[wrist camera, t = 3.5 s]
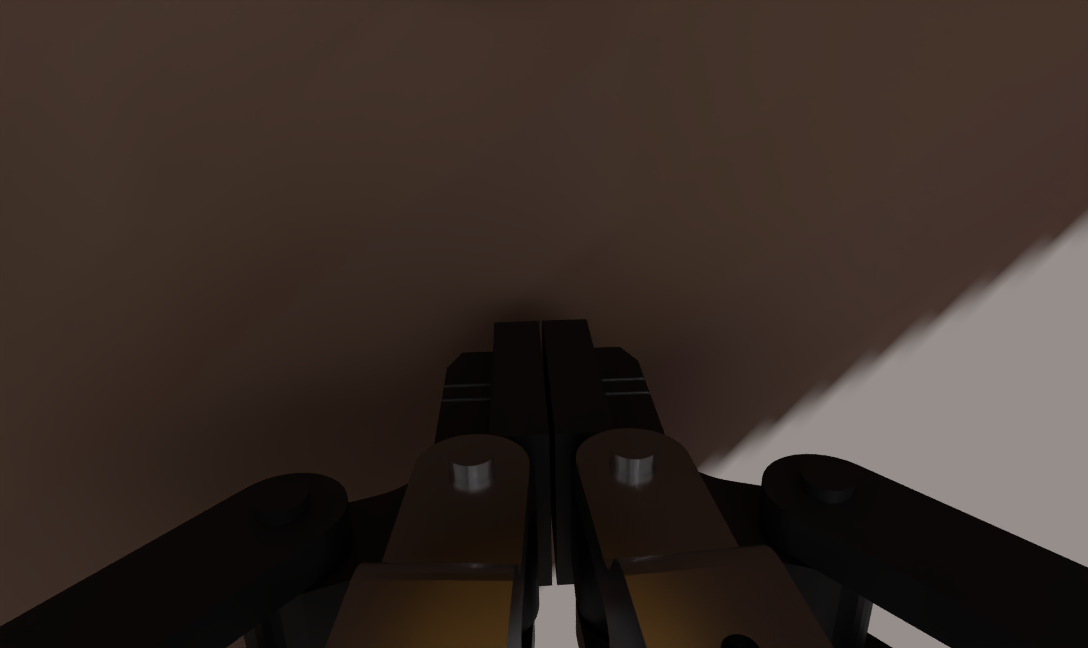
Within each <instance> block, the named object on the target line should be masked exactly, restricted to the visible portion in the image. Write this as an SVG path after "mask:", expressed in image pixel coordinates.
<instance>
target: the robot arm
mask: <svg viewBox="0 0 1088 648" xmlns="http://www.w3.org/2000/svg"><path fill="white" fill-rule="evenodd" d="M542 356H543V362H542ZM551 519H552V530H553V542H554V554H555V566H556V578H557V585H566V584H574V586H575V596H576V636H577V641H578V646H579V648H892V647H890V646H888V645H887V644H885V643H884V642H882V641H880V640H879V639H877V638H876V637H874V636H872V635H871V634H869V633H867V630H868V626H869V621H870V616H871V610H872V606H873V603H874V604H876V605H878V606H880V607H881V608H883V609H884V610H886V611H888V612H890V613H891V614H893V615H895V616H897V617H898V618H900V619H902V620H904V621H905V622H907V623H909V624H911V625H912V626H914V627H916V628H917V629H919V630H921V631H923V632H924V633H926V634H928V635H930V636H932V637H933V638H935V639H937V640H938V641H940V642H942V643H944V644H945V645H947V646H949V647H951V648H1088V567H1085V566H1083V565H1081V564H1079V563H1076V562H1074V561H1072V560H1070V559H1068V558H1065V557H1063V556H1061V555H1058V554H1056V553H1054V552H1052V551H1050V550H1047V549H1045V548H1043V547H1041V546H1038V545H1036V544H1034V543H1032V542H1029V541H1027V540H1025V539H1023V538H1020V537H1018V536H1016V535H1014V534H1011V533H1009V532H1007V531H1005V530H1002V529H1000V528H998V527H996V526H994V525H991V524H989V523H987V522H985V521H982V520H980V519H978V518H976V517H973V516H971V515H969V514H967V513H964V512H962V511H960V510H958V509H955V508H953V507H951V506H949V505H946V504H944V503H942V502H940V501H937V500H935V499H933V498H931V497H929V496H926V495H924V494H922V493H920V492H917V491H915V490H913V489H910V488H908V487H906V486H904V485H902V484H899V483H897V482H895V481H893V480H890V479H888V478H885V477H884V476H881V475H879V474H877V473H875V472H872V471H870V470H868V469H866V468H863V467H861V466H859V465H857V464H854V463H852V462H849V461H846V460H843V459H839V458H836V457H831V456H826V455H817V454H801V455H792V456H787V457H784V458H781V459H778V460H776V461H774V462H773V463H771V464H770V465H769V466H768V467H767V468H766V470H765V471H764V473H763V477H762V484H761V486H759V485H753V484H746V483H740V482H734V481H728V480H723V479H718V478H715V477H711V476H708V475H706V474H703V473H700V472H698V470H697V468H696V466H695V464H694V462H693V461H692V459H691V457H690V455H689V453H688V452H687V450H686V449H685V448H684V447H683V446H682V445H681V444H680V443H679V442H677V441H676V440H674V439H672V438H670V437H668V436H666V435H665V434H664V431H663V428H662V425H661V423H660V420H659V417H658V414H657V412H656V409H655V406H654V403H653V401H652V398H651V395H650V394H649V390H648V387H647V384H646V382H645V380H644V376H643V373H642V371H641V368H640V365H639V362H638V360H636V359H635V358H634V357H632V356H631V355H630V354H628V353H627V352H626V351H624V350H623V349H622V348H621V347H606V348H594V347H593V343H592V339H591V335H590V331H589V327H588V323H587V320H586V319H579V320H550V321H542V352H541V342H540V331H539V321H524V322H495V323H494V344H493V352H467V353H462V354H461V355H460V356H459V357H458V358H457V359H456V360H455V361H454V362H453V363H452V364H451V365H450V366H449V367H447V372H446V378H445V384H444V390H443V396H442V402H441V408H440V413H439V419H438V425H437V431H436V437H435V443H434V445H433V446H431V447H429V448H428V449H426V450H425V451H424V452H423V453H422V454H421V455H420V456H419V458H418V459H417V461H416V463H415V465H414V468H413V471H412V474H411V477H410V480H409V483H408V484H406V485H404V486H402V487H400V488H398V489H396V490H393V491H391V492H388V493H385V494H381V495H378V496H374V497H370V498H366V499H362V500H358V501H354V502H350V503H348V497H347V492H346V491H345V489H344V487H343V486H342V485H341V484H340V483H339V482H337V481H336V480H334V479H332V478H330V477H327V476H324V475H319V474H312V473H294V474H286V475H281V476H276V477H272V478H269V479H266V480H263V481H260V482H258V483H255V484H253V485H251V486H249V487H247V488H245V489H244V490H242V491H240V492H238V493H236V494H235V495H233V496H231V497H229V498H228V499H226V500H224V501H222V502H220V503H219V504H217V505H215V506H213V507H212V508H210V509H208V510H206V511H204V512H203V513H201V514H199V515H197V516H196V517H194V518H192V519H190V520H189V521H187V522H185V523H183V524H181V525H180V526H178V527H176V528H174V529H173V530H171V531H169V532H167V533H165V534H164V535H162V536H160V537H158V538H157V539H155V540H153V541H151V542H149V543H148V544H146V545H144V546H142V547H141V548H139V549H137V550H135V551H133V552H132V553H130V554H128V555H126V556H125V557H123V558H121V559H119V560H117V561H116V562H114V563H112V564H110V565H109V566H107V567H105V568H103V569H101V570H100V571H98V572H96V573H94V574H93V575H91V576H89V577H87V578H86V579H84V580H82V581H80V582H78V583H77V584H75V585H73V586H71V587H70V588H68V589H66V590H64V591H62V592H61V593H59V594H57V595H55V596H54V597H52V598H50V599H48V600H46V601H45V602H43V603H41V604H39V605H38V606H36V607H34V608H32V609H30V610H29V611H27V612H25V613H23V614H22V615H20V616H18V617H16V618H14V619H13V620H11V621H9V622H7V623H6V624H4V625H2V626H0V648H226V647H228V646H229V645H230V644H232V643H233V642H235V641H236V640H237V639H239V638H240V637H241V636H243V635H244V639H245V643H246V647H247V648H534V646H535V645H534V644H535V626H534V620H535V619H536V617H537V614H538V610H539V586H550V585H552V555H551Z"/></svg>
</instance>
